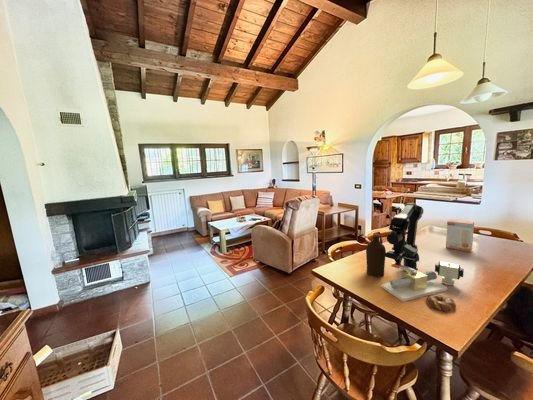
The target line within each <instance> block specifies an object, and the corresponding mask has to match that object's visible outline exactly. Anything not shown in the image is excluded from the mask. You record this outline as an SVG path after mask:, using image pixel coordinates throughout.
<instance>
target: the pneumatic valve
mask: <svg viewBox="0 0 533 400" xmlns="http://www.w3.org/2000/svg"><path fill="white" fill-rule="evenodd" d="M434 272H435V273H436V274H437V276H438V277H439V276H440V277H441V282H442V283H443V285H446V286H447V285H448V286H453V285H455V280H460V279H461V278H464V268H463V267H462V268H461V265H460V264H456V263H455V264H454V263H451V262H445V261H438V263H435V265H434Z"/></svg>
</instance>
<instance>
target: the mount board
mask: <svg viewBox="0 0 533 400" xmlns="http://www.w3.org/2000/svg"><path fill="white" fill-rule="evenodd" d="M381 288H382V289H384V290H385V291H387V292H388V293H389V294H391V295H393V296H394V297H396V298H397V299H398V300H400V301H402V302H407V301H411V300H414V299H418V298H422V297H426V296H430V295H432V294H437V293H441V292H444V291H448V287H447V286H445V285H444V284H441V283H439V282H437V281H435V280H431V281H427V288H426V289H422V290H418V291H413V290H411V289H409V288H408V287H402V288H398V289H394V288H392V286H391V284H390V282H386V283H383V284H381Z"/></svg>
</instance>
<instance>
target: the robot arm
mask: <svg viewBox="0 0 533 400" xmlns="http://www.w3.org/2000/svg"><path fill="white" fill-rule="evenodd" d="M423 215H424V208H423V207H422V206H420V205H417V203H411V202H408V203H405V205H404V208H403V209H402V210H401V212H400V213H399V214H395V215H394V216H393V217H392V218H391V220H390V223H389V228H388V230H389V231H390V233H389V234H388V235H386V241H387V243H389V244H390V245H392V247H391V250H388V251H386V253H385V258H388V259H390V260H391V259H392V260H394V262H396V263H399V264H401V265H402V264H403V266H406V267H409V268H413V269H415V270H417V271H419V270H418V269H419V268H418V264H417V262H420V255H419V252H418V250H419V248H418V245H417V244H416V239H417V231H418V230H417V229H418V222H419V220H420V219H421V218H422V216H423ZM406 232H407V233H406ZM402 262H403V263H402Z"/></svg>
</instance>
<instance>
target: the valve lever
mask: <svg viewBox="0 0 533 400" xmlns="http://www.w3.org/2000/svg"><path fill="white" fill-rule="evenodd" d="M390 266H391V267H393V268H395V269H401V270H403V271H406V270H407V271H410V272H411V273H412V274H417V271H418V270H417V271H416V270H415V269H413V268H409V267H406V266H403V265H402V263H401V264H399V263H396V262H395V261H393V262H391V265H390Z"/></svg>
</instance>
